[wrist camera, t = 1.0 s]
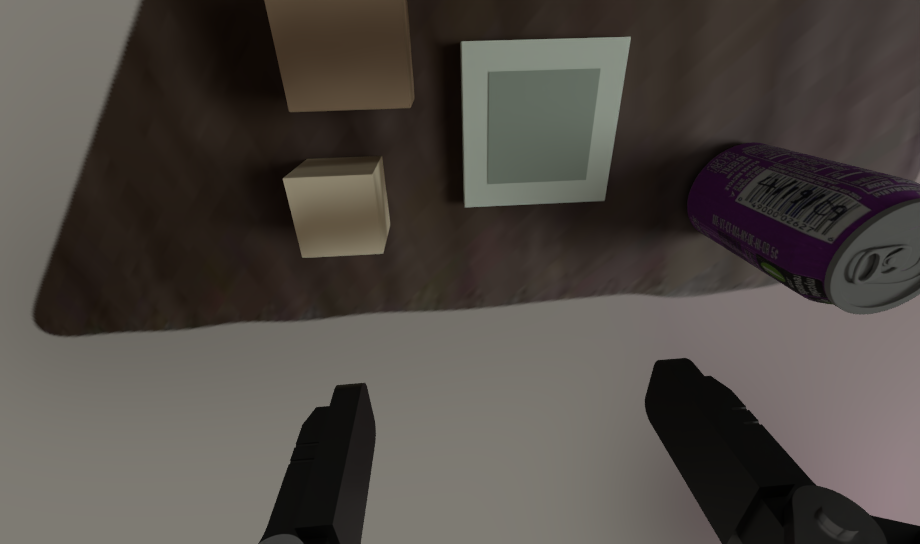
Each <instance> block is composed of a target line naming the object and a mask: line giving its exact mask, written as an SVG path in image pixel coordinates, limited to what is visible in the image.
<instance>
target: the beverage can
mask: <svg viewBox="0 0 920 544" xmlns="http://www.w3.org/2000/svg"><path fill="white" fill-rule="evenodd" d="M687 212H688V217H689V219H690V222H691V223H692V225H693V226H694V228H695V229H696V230H698V231H699V232H701V233H702V234H704V235H705V236H707V237H709V238H710V239H712V240H713V241H715V242H717V243H718V244H720V245H721V246H723V247H724V248H726V249H728V250H729V251H731V252H732V253H734V254H736V255H737V256H739V257H740V258H742V259H744V260H745V261H747V262H748V263H750V264H752V265H753V266H755V267H756V268H758V269H760V270H761V271H763V272H764V273H766V274H768V275H769V276H771V277H772V278H774V279H776V280H777V281H779V282H780V283H782V284H784V285H785V286H787V287H788V288H790V289H791V290H793V291H795V292H796V293H798V294H800V295H802V296H803V297H805V298H807V299H809V300H812V301H816V302H820V303H826V304H834V305H835V306H837V307H839V308H840V309H842V310H844V311H846V312H849V313H853V314H873V313H878V312H881V311H885V310H888V309H892V308H894V307H897V306H899V305H901V304H903V303H905V302H907V301H909V300H911V299H913V298H914V297H916V296H917V295H919V294H920V184H919V183H917V182H914V181H911V180H907V179H904V178H900V177H896V176H892V175H888V174H884V173H880V172H876V171H872V170H868V169H863V168H859V167H855V166H851V165H847V164H843V163H839V162H835V161H831V160H827V159H823V158H819V157H815V156H811V155H807V154H803V153H799V152H795V151H790V150H786V149H782V148H778V147H774V146H770V145H766V144H762V143H745V144H740V145H737V146H734V147H732V148H729V149H727V150H725V151H724V152H722V153H720V154H719V155H717V156H716V157H715V158H713V159H712V160H711V161H710V162H709V163H708V164H707V165H706V166H705V167H704V168H703V169H702V170H701V172H700V173H699V174H698V176H697V177H696V179H695V181H694V183H693V185H692V187H691V189H690V192H689V196H688V201H687Z"/></svg>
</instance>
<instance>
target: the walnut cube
mask: <svg viewBox="0 0 920 544" xmlns="http://www.w3.org/2000/svg"><path fill="white" fill-rule="evenodd" d="M264 1H265V5H266V10H267V14H268V19H269V23H270V28H271V32H272V37H273V41H274V46H275V50H276V55H277V59H278V64H279V68H280V73H281V77H282V82H283V86H284V91H285V95H286V100H287V104H288V109H289V112H308V111H337V110H365V109H394V108H411V105H412V103H413V101H414V84H413V71H412V58H411V45H410V31H409V18H408V5H407V0H264Z"/></svg>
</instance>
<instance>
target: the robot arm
mask: <svg viewBox="0 0 920 544" xmlns="http://www.w3.org/2000/svg"><path fill="white" fill-rule="evenodd" d="M645 408H646V413H647V416H648V419H649V421H650V423H651V424H652V426H653V428H654V430H655V431H656V433H657V434H658V436H659V438H660V440H661V441H662V443H663V444H664V446H665V448H666V450H667V451H668V453H669V455H670V457H671V458H672V460H673V462H674V463H675V465H676V467H677V468H678V470H679V472H680V473H681V475H682V477H683V478H684V480H685V482H686V484H687V485H688V487H689V488H690V490H691V492H692V494H693V495H694V497H695V499H696V500H697V502H698V504H699V506H700V507H701V509H702V511H703V512H704V514H705V516H706V517H707V519H708V521H709V522H710V524H711V526H712V528H713V529H714V531H715V533H716V534H717V536H718V538H719V539H720V541H721V543H722V544H920V526H917V525H912V524H907V523H902V522H898V521H893V520H889V519H884V518H879V517H875V516H871V515H869V514H868V513H867V512H866V511H865V510H864V509H863V508H861V507H860V506H859V505H857V504H856V503H855V502H853V501H852V500H850V499H849V498H847V497H845V496H843V495H842V494H840V493H837V492H835V491H833V490H830V489H827V488H824V487H820V486H816V484H814V483H813V482H812V480H811V479H810V478H809V477H808V476H807V475H806V474H805V473H804V472H803V470H802V469H801V468H800V467H799V466H798V465H797V464H796V463H795V462H794V460H793V459H792V458H791V457H790V456H789V455H788V454H787V452H786V451H785V450H784V449H783V448H782V447H781V446H780V445H779V443H778V442H777V441H776V440H775V439H774V438H773V437H772V436H771V434H770V433H769V432H768V431H767V430H766V429H765V428H764V426H763V425H760V424H759V423H758V420H757V419H756V417H755V416H754V415H753V414H752V413H751V412H750V411H749V410H747V409H746V406H745V405H744V404H743V403H742V402H741V401H740V400H739V398H738V397H737V396H736V395H735V394H734V393H733V392H732V390H730V389H729V388H728V387H726V386H725V385H723V384H722V383H720V382H719V381H717V380H716V379H714V378H713V377H711V376H704V375H703V374H702V373H701V372H700V370H699V369H698V368H697V367H696V366H695V365H694V363H693V362H692V361H691V360H689V359H687V358H681V359H668V360H658V361H656V363H655V365H654V368H653V371H652V375H651V378H650V382H649V386H648V390H647V393H646V397H645ZM375 436H376V430H375V420H374V415H373V411H372V407H371V402H370V398H369V394H368V389H367V386H366V384H365V383H358V384H346V385H337V386H336V387H335V389H334V393H333V396H332V399H331V403H330V406H326V407H316V408H315V410H314V411H313V412H312V413H311V415H310V416H309V417H308V418H307V420H306V421H305V422H304V424H303V425H302V428H301V431H300V434H299V436H298V439H297V442H296V448H294V451H293V454H292V457H291V459H290V461H291V462H290V464H289V465H288V468H287V471H286V474H285V477H284V480H283V482H282V486H281V488H280V491H279V494H278V497H277V500H276V503H275V506H274V509H273V511H272V514H271V517H270V520H269V523H268V526H267V528H266V531H265V533H264V535H263V537H262V539H261V540H260V542H259V543H258V544H361V536H362V530H363V522H364V516H365V509H366V502H367V495H368V489H369V481H370V475H371V467H372V461H373V454H374V447H375Z"/></svg>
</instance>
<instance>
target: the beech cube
mask: <svg viewBox="0 0 920 544" xmlns="http://www.w3.org/2000/svg"><path fill="white" fill-rule="evenodd" d="M283 182H284V186H285V190H286V194H287V198H288V202H289V206H290V210H291V214H292V218H293V222H294V226H295V230H296V234H297V238H298V242H299V246H300V250H301V254H302V258H310V257H329V256H348V255H367V254H383V252H384V248H385V244H386V240H387V236H388V232H389V228H390V218H389V210H388V202H387V194H386V186H385V177H384V169H383V161H382V156H365V157H341V158H317V159H306V160H305V161H304V162H303V163H301V164H300V165H299V166H298V167H296V168H295V169H294V170H293V171H291V172H290V173H289V174H288V175H286V176H285V177H284V178H283Z"/></svg>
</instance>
